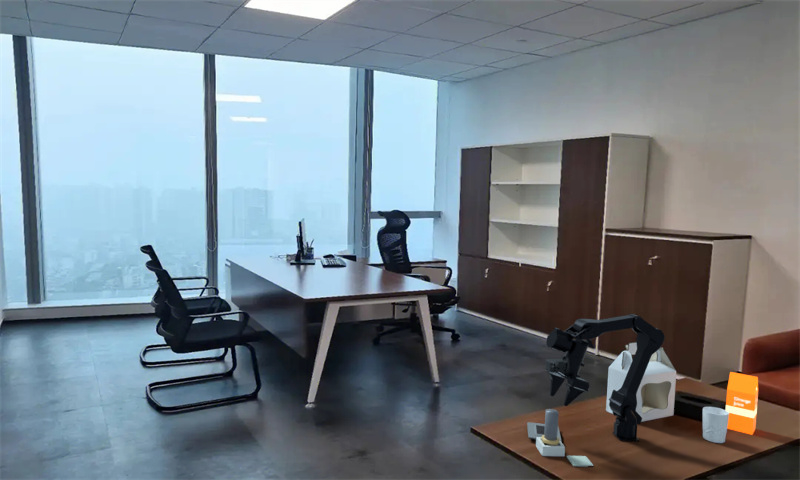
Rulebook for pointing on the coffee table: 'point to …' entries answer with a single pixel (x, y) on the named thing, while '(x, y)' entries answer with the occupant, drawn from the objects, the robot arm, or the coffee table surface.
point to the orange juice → (742, 402)
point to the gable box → (646, 383)
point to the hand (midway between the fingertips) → (558, 400)
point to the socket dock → (550, 448)
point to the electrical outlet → (537, 430)
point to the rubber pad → (579, 461)
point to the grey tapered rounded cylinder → (551, 428)
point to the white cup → (715, 424)
